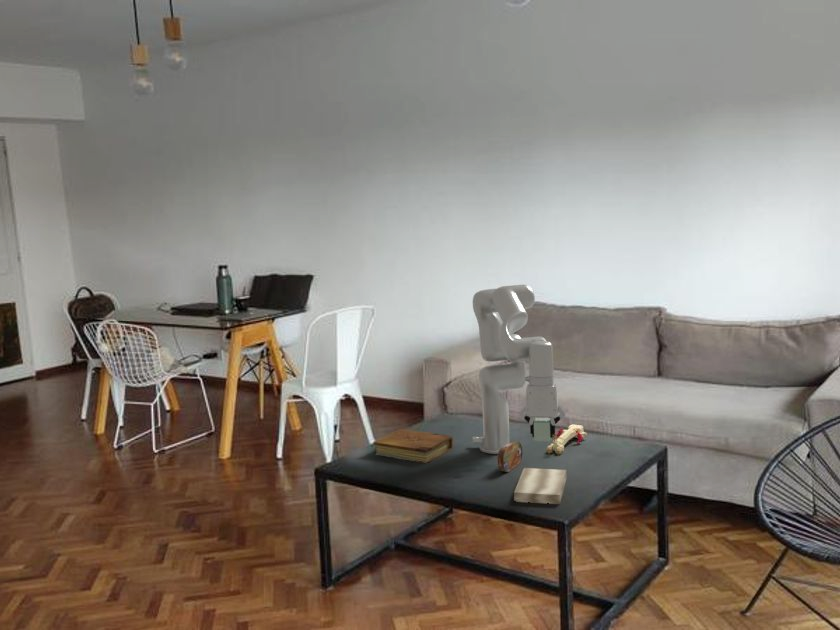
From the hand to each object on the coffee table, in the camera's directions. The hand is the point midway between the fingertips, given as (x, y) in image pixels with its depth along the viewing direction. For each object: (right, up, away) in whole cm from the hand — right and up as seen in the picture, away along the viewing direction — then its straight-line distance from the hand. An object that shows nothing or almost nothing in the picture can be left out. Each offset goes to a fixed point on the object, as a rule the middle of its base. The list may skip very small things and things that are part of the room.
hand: (542, 435), depth 259 cm
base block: (0, -18, +2) cm, 18 cm away
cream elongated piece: (+16, -10, +45) cm, 49 cm away
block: (0, -1, 0) cm, 1 cm away
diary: (-41, -13, +45) cm, 62 cm away
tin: (-8, -15, +23) cm, 29 cm away
